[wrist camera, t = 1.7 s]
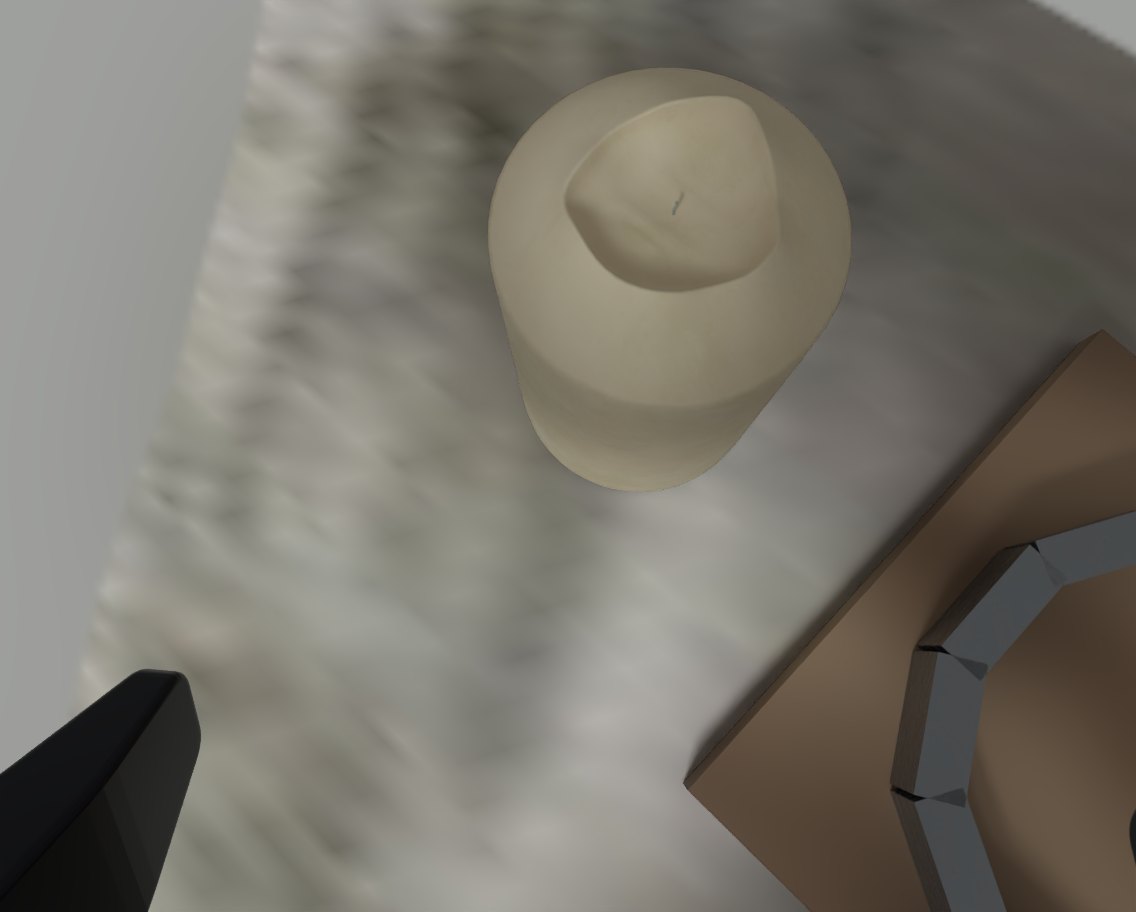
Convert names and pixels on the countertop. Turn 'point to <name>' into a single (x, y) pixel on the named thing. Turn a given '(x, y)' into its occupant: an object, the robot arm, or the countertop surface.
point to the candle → (662, 269)
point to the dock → (1025, 695)
